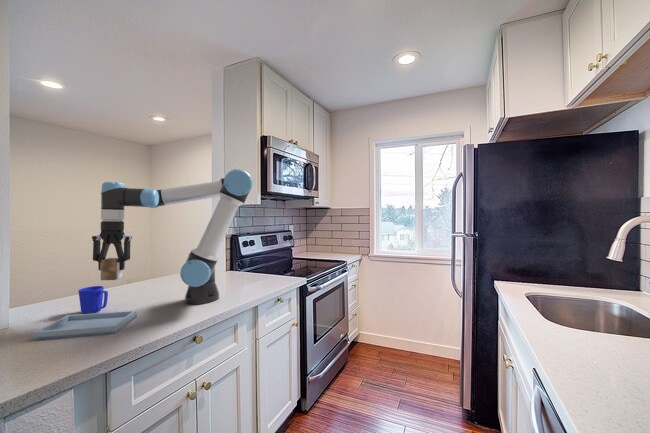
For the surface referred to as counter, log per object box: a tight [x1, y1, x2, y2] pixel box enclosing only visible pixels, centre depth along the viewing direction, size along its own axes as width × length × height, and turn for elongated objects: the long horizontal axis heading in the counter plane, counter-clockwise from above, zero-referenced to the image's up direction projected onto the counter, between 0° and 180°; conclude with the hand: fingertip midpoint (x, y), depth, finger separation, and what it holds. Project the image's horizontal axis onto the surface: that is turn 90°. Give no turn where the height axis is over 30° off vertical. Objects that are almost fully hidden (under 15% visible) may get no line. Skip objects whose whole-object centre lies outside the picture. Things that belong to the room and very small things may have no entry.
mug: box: [78, 285, 109, 314], centre depth 119 cm, size 8×12×10 cm
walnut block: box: [100, 257, 119, 281], centre depth 112 cm, size 5×5×8 cm
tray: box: [32, 310, 138, 341], centre depth 102 cm, size 24×16×2 cm, turn 101°
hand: (111, 278), depth 112 cm, fingers closed on walnut block, 5 cm apart
